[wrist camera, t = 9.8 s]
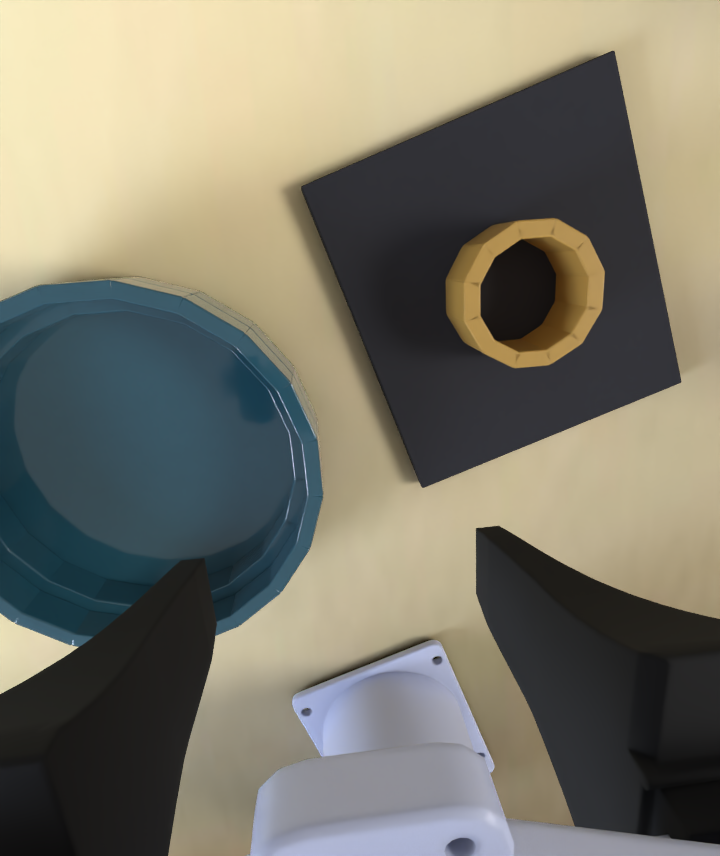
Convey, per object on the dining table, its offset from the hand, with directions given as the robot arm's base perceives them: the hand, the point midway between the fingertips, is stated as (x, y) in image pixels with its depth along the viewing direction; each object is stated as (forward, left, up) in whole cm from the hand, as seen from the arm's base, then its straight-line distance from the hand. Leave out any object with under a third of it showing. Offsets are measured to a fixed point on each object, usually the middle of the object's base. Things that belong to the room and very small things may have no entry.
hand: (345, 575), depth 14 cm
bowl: (+3, +7, -9) cm, 12 cm away
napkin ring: (+4, -9, -9) cm, 13 cm away
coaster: (+4, -9, -9) cm, 13 cm away
